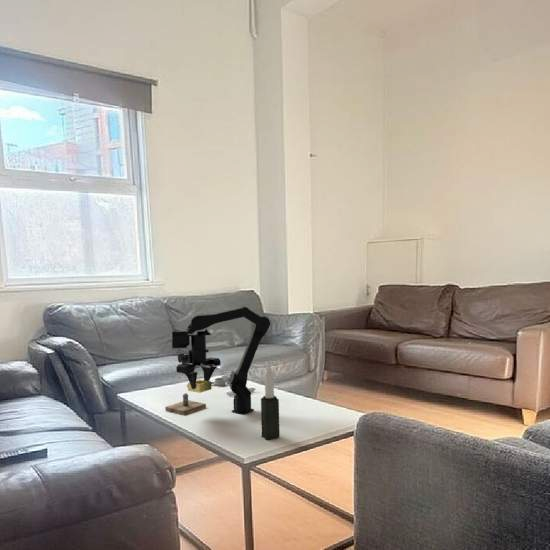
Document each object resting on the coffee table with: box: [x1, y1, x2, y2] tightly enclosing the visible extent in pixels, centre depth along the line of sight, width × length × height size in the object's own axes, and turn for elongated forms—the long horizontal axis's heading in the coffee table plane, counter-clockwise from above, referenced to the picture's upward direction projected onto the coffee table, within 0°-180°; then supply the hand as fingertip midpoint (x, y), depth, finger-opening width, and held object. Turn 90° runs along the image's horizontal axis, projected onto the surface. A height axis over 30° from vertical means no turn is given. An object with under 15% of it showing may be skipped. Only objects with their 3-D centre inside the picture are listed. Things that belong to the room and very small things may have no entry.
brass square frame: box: [187, 379, 213, 394], centre depth 187 cm, size 6×6×3 cm
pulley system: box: [186, 374, 231, 388], centre depth 239 cm, size 27×5×15 cm
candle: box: [260, 362, 281, 441], centre depth 161 cm, size 5×5×25 cm
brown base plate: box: [164, 392, 207, 416], centre depth 197 cm, size 11×12×6 cm
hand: (199, 387), depth 187 cm, fingers closed on brass square frame, 6 cm apart
